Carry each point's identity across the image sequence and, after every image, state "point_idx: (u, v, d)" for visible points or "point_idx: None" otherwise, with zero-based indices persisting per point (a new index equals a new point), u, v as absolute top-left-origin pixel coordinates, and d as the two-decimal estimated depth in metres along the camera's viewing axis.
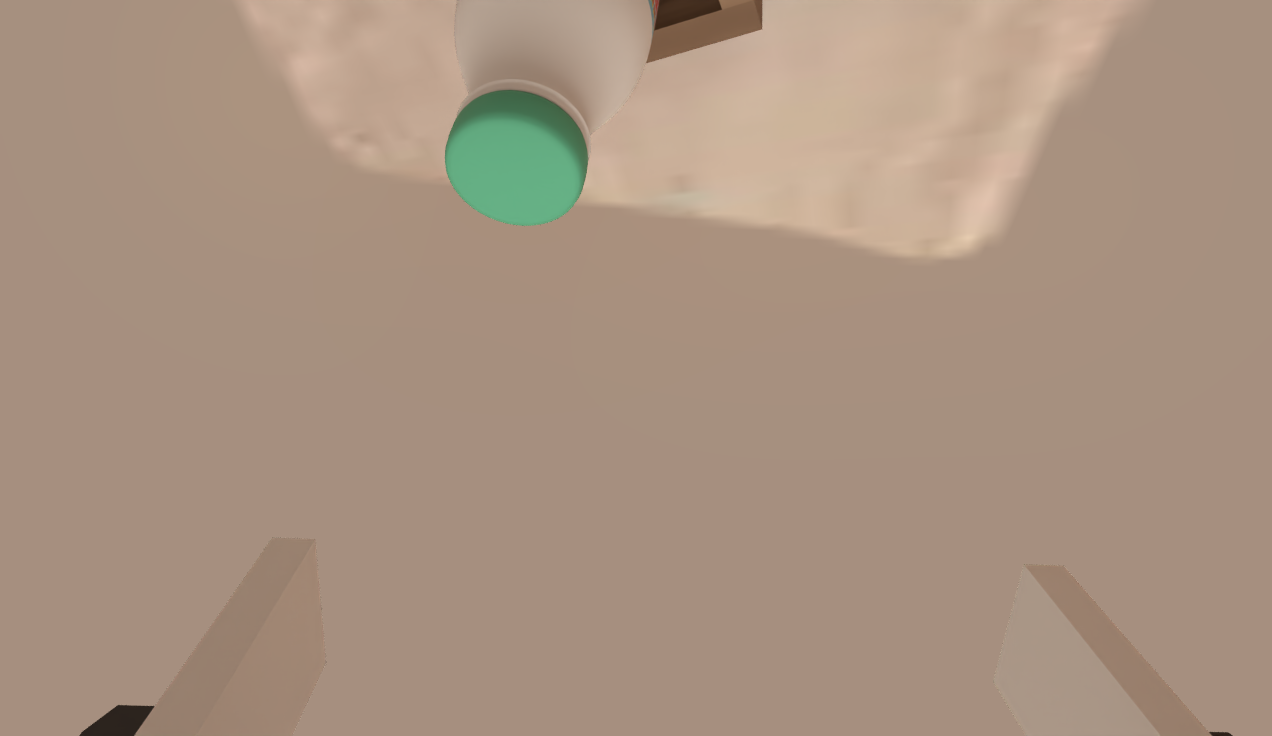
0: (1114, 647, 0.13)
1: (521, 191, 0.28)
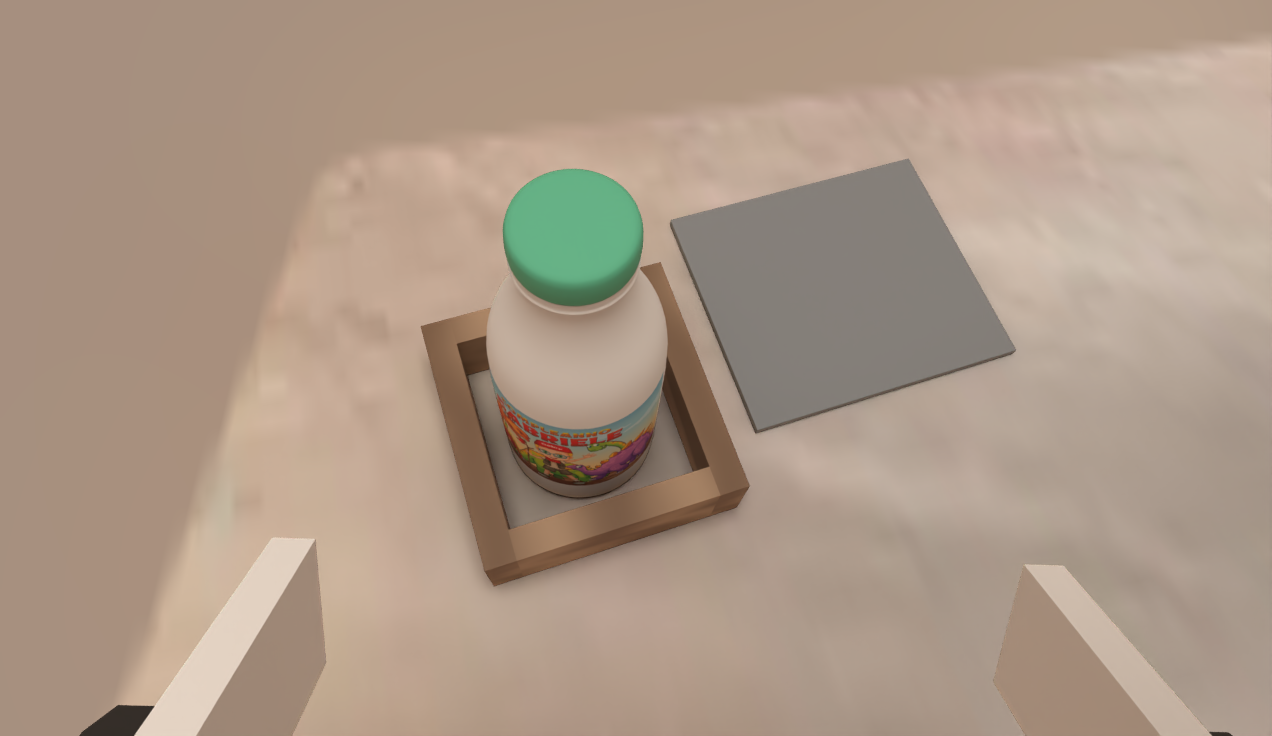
0: (1114, 647, 0.13)
1: (556, 227, 0.27)
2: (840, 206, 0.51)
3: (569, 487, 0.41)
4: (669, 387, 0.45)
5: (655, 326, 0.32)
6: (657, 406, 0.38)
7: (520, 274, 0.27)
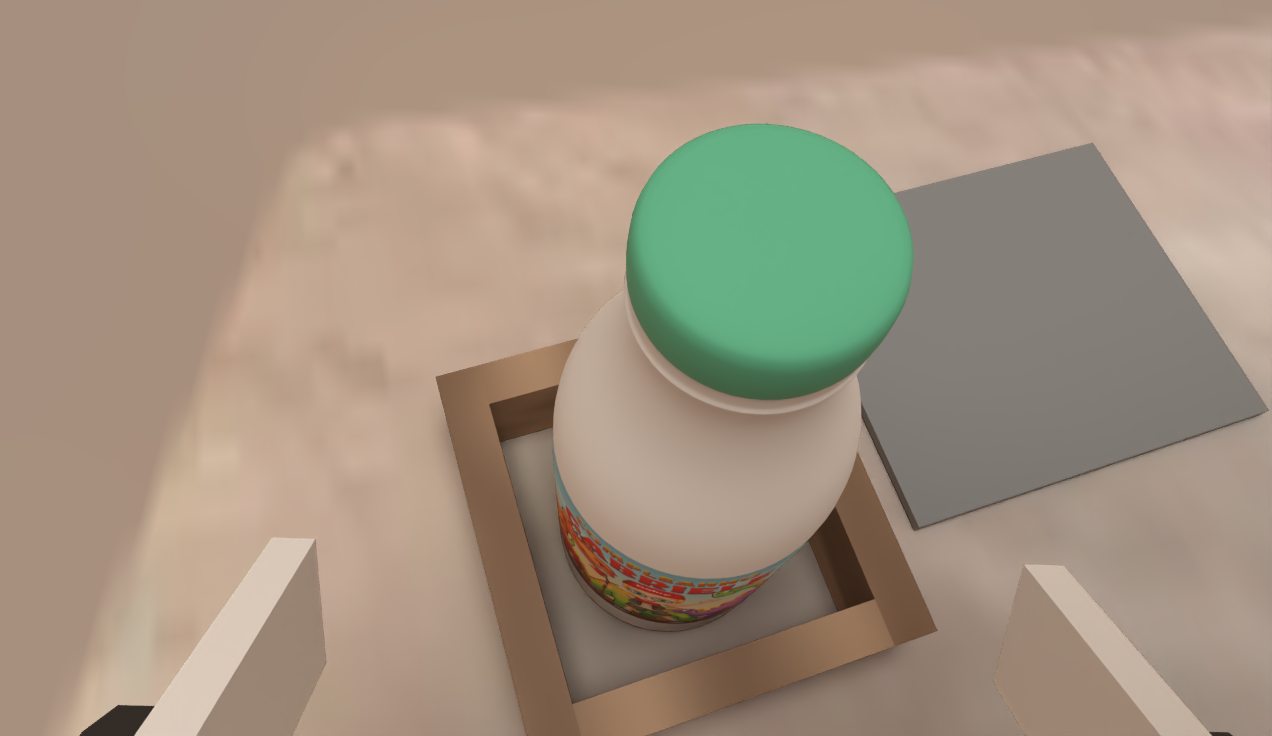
0: (1114, 647, 0.13)
1: (743, 240, 0.13)
2: (1007, 206, 0.38)
3: (658, 624, 0.28)
4: None
5: (857, 411, 0.19)
6: None
7: (668, 337, 0.13)
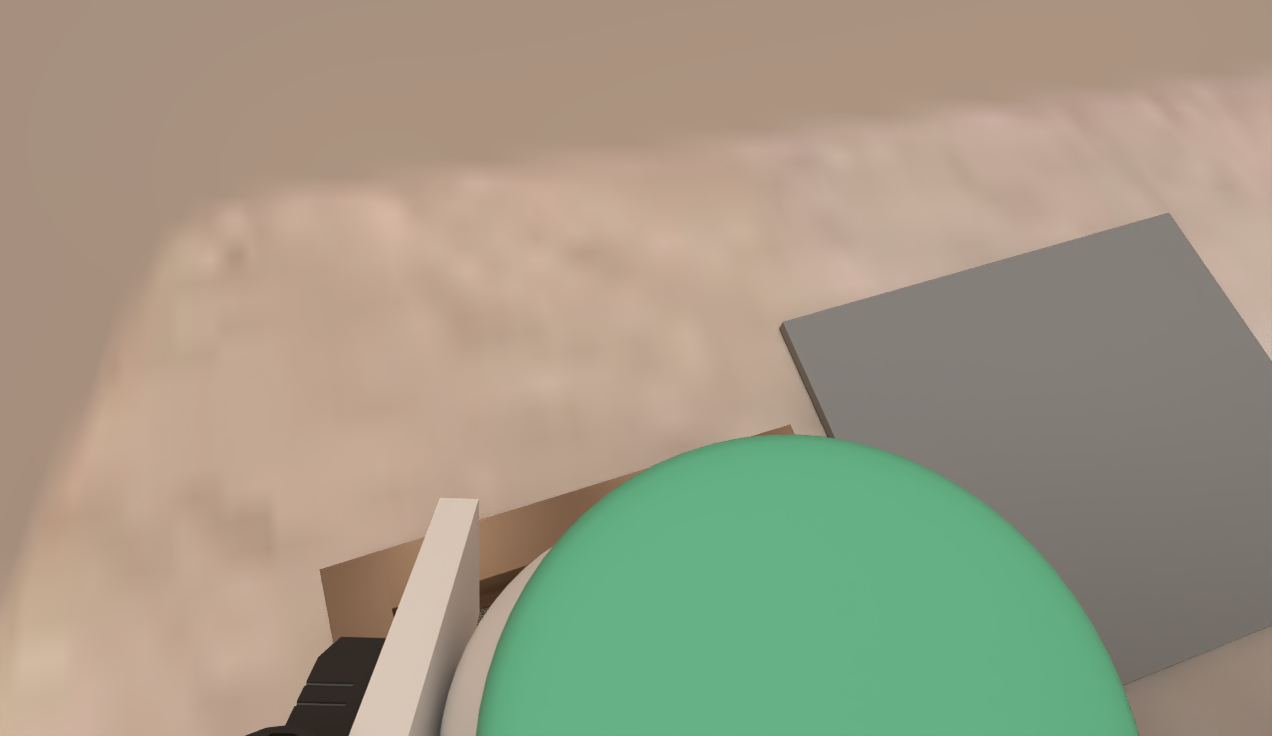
0: None
1: None
2: (1068, 296, 0.30)
3: None
4: None
5: None
6: None
7: None
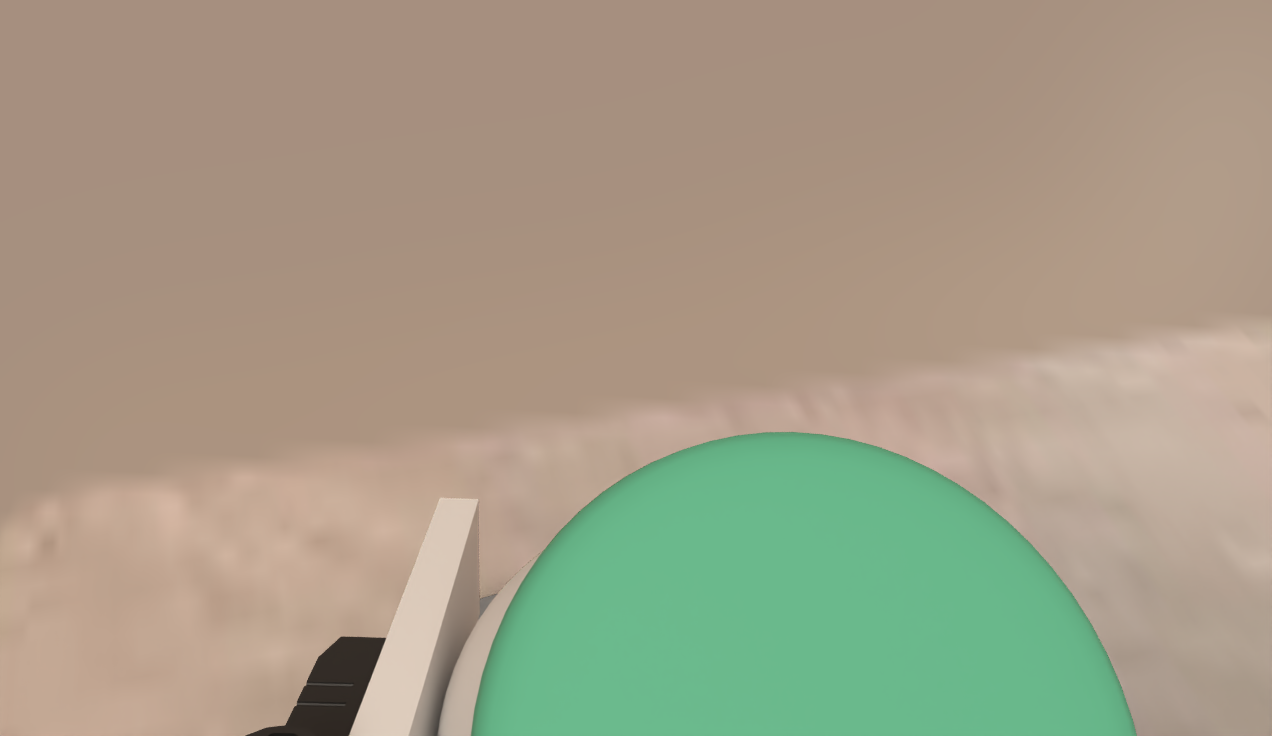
0: None
1: None
2: None
3: None
4: None
5: None
6: None
7: None
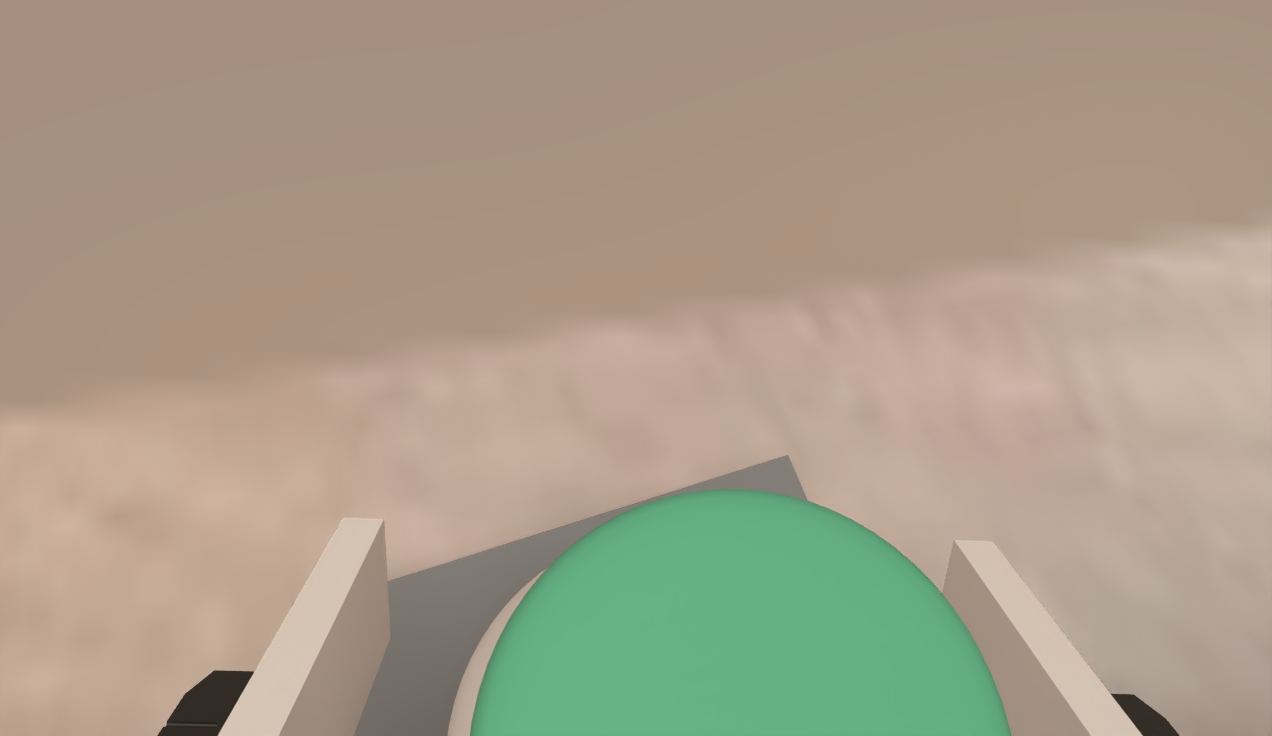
0: (1030, 615, 0.14)
1: None
2: None
3: None
4: None
5: None
6: None
7: None
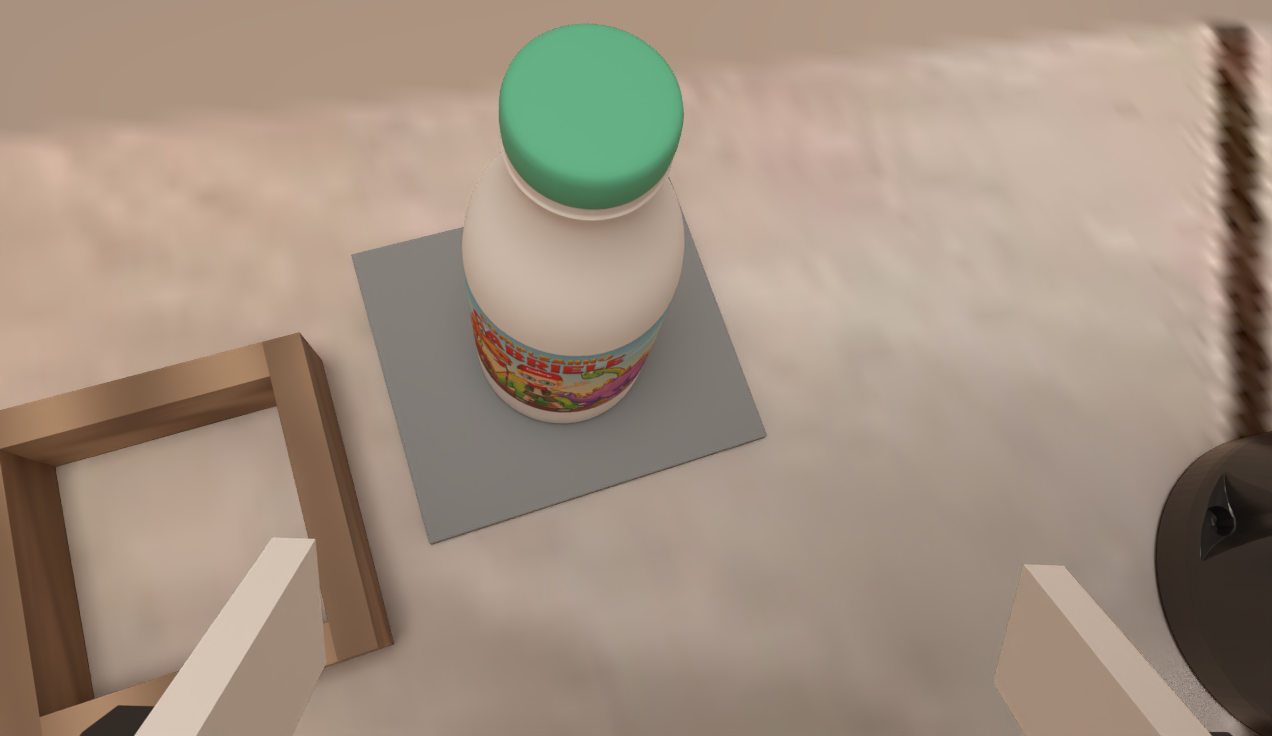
0: (1114, 647, 0.13)
1: (571, 102, 0.20)
2: None
3: (551, 414, 0.36)
4: None
5: (676, 234, 0.26)
6: None
7: (523, 164, 0.20)
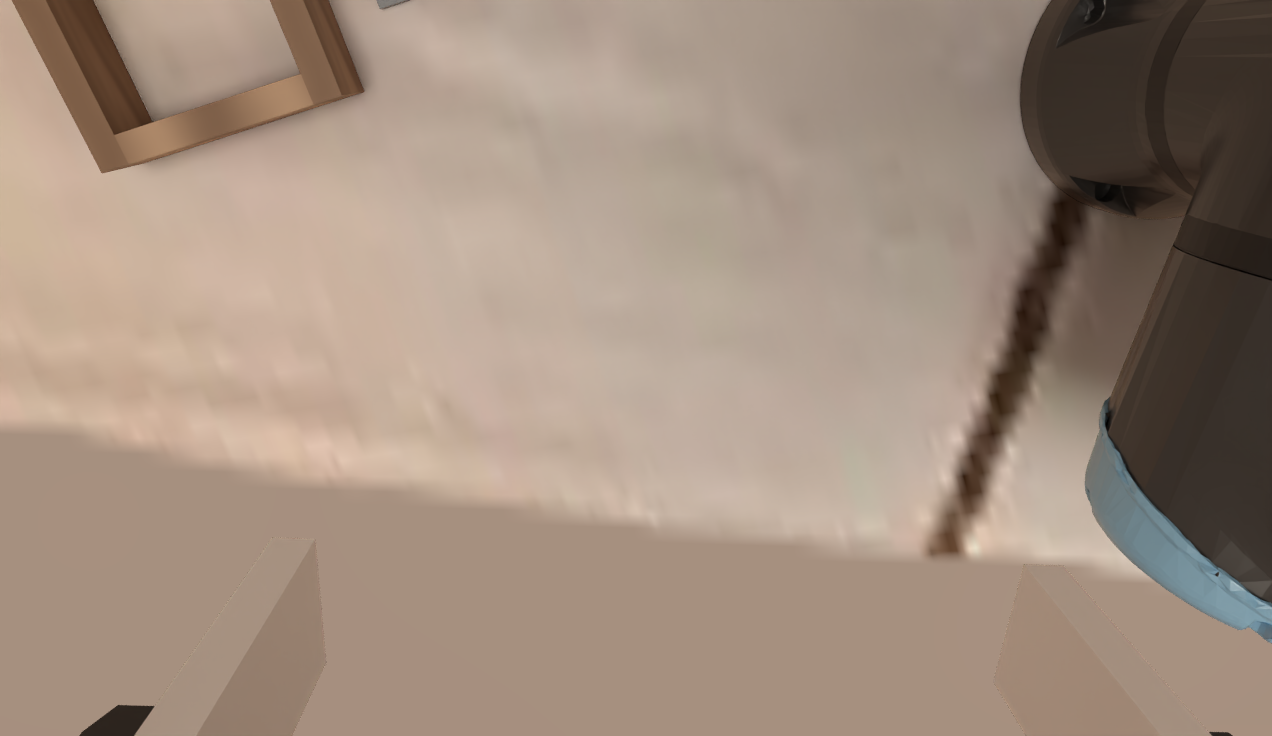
0: (1114, 647, 0.13)
1: None
2: None
3: None
4: None
5: None
6: None
7: None
